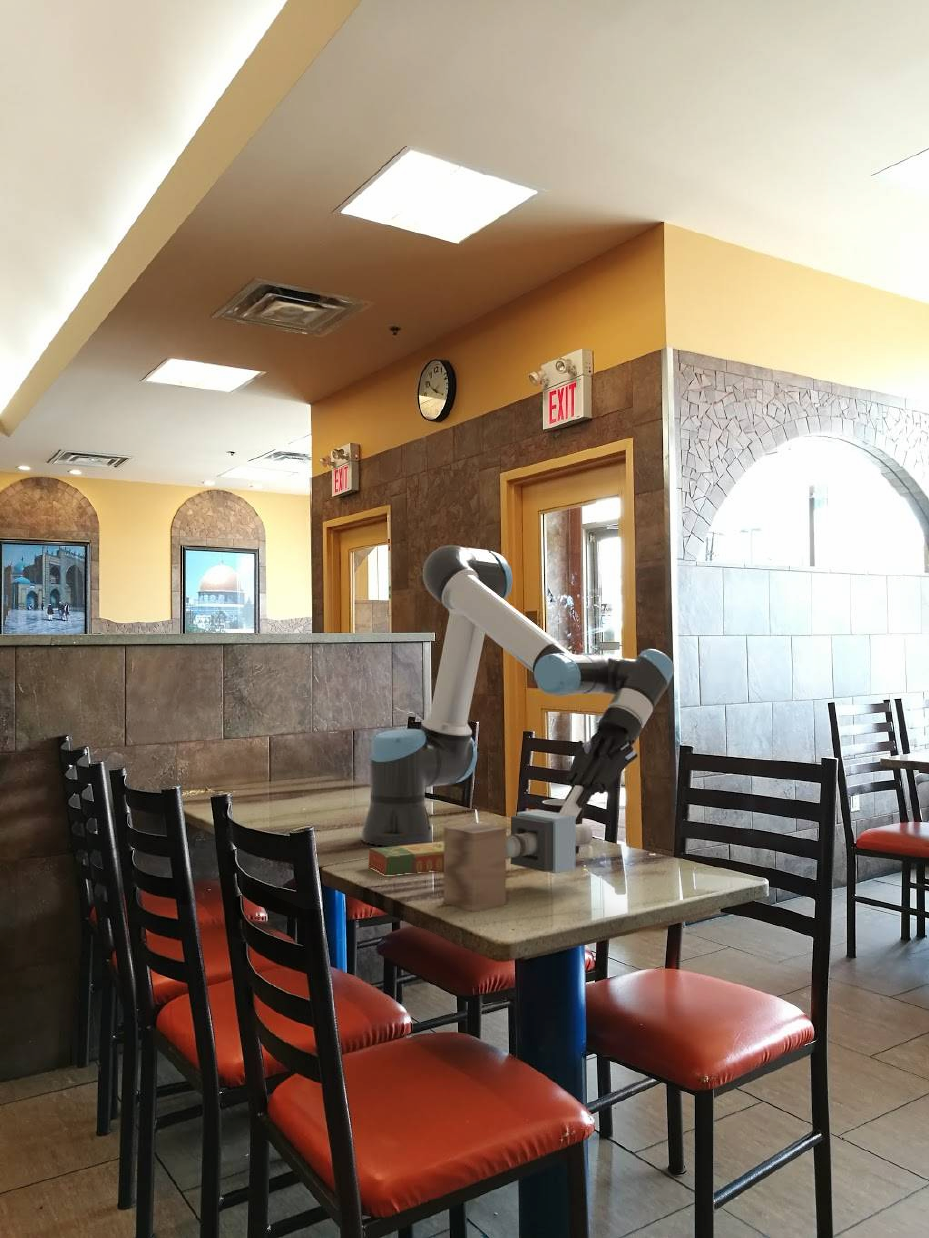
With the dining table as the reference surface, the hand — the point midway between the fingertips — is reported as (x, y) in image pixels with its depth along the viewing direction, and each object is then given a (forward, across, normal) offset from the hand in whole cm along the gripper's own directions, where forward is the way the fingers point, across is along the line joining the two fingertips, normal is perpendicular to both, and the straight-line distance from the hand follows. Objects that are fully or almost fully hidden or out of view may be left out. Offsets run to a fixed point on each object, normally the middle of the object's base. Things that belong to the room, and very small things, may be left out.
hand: (565, 819), depth 164 cm
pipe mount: (+14, +1, -2) cm, 14 cm away
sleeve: (+8, +1, -3) cm, 9 cm away
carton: (+16, +27, 0) cm, 32 cm away
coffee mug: (-8, +21, -24) cm, 33 cm away
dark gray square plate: (+10, +1, 0) cm, 10 cm away
